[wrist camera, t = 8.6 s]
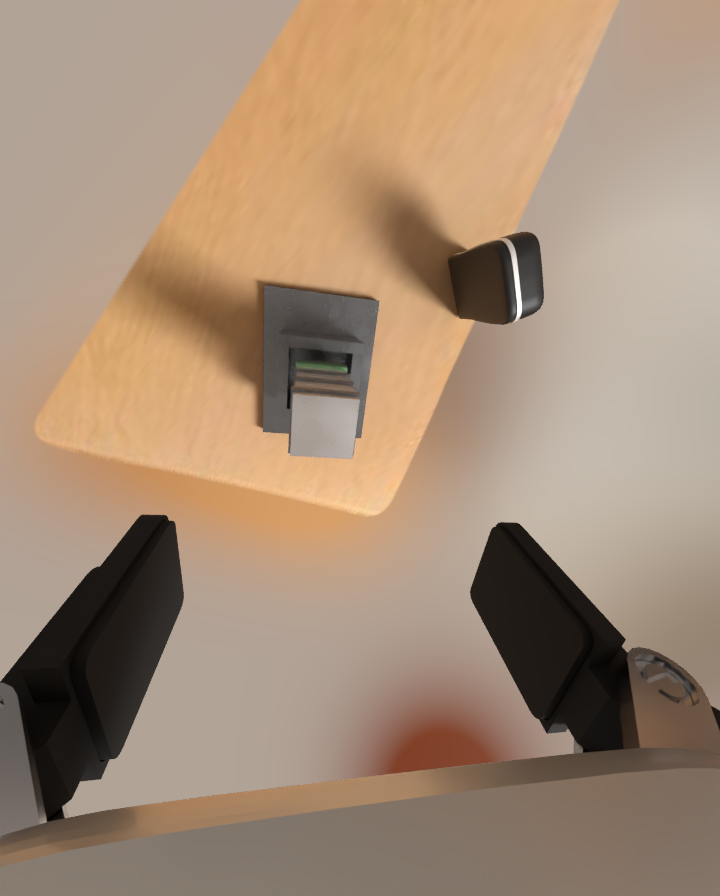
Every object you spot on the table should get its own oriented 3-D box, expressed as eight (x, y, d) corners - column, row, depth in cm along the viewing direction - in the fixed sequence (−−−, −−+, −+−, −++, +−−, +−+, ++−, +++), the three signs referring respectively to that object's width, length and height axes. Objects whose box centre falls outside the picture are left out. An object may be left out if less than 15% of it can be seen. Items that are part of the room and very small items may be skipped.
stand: (265, 285, 34) (251, 280, 26) (377, 300, 36) (396, 301, 28) (264, 428, 41) (252, 461, 32) (359, 435, 43) (371, 466, 35)
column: (297, 356, 31) (289, 390, 19) (343, 361, 32) (363, 396, 20) (295, 401, 33) (286, 458, 21) (339, 405, 33) (354, 461, 22)
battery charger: (488, 309, 39) (554, 313, 28) (458, 321, 39) (512, 329, 28) (478, 243, 36) (547, 220, 25) (445, 256, 36) (500, 238, 25)
